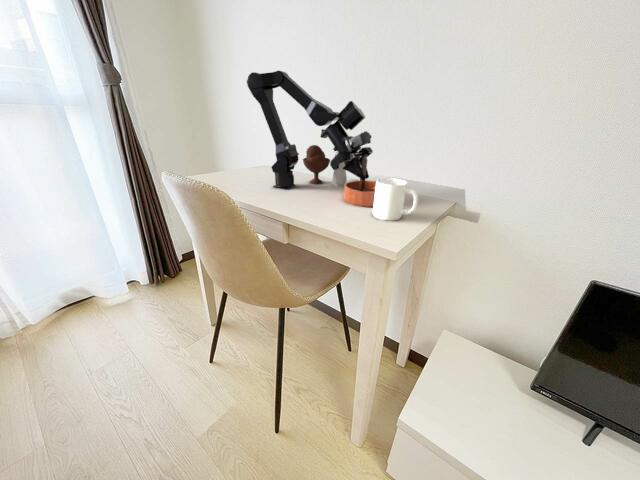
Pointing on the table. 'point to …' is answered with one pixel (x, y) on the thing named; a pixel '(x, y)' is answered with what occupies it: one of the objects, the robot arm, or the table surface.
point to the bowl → (359, 193)
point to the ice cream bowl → (315, 162)
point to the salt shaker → (339, 175)
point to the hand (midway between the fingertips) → (366, 178)
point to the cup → (392, 199)
